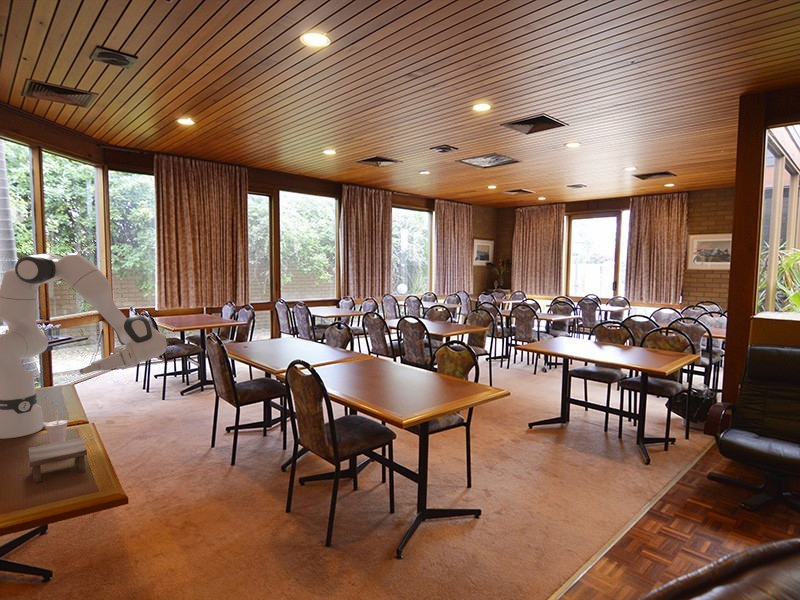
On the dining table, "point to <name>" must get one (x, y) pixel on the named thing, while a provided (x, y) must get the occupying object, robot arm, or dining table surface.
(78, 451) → the stool
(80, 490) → the dining table surface
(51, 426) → the smoothie
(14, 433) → the robot arm
